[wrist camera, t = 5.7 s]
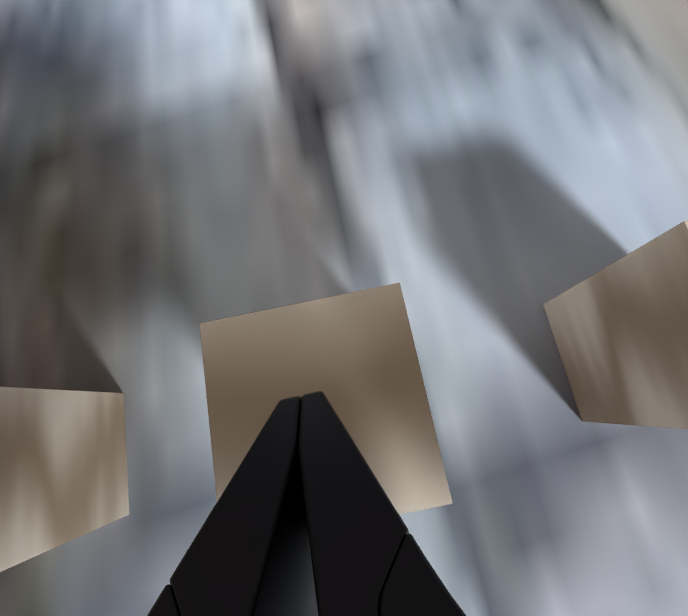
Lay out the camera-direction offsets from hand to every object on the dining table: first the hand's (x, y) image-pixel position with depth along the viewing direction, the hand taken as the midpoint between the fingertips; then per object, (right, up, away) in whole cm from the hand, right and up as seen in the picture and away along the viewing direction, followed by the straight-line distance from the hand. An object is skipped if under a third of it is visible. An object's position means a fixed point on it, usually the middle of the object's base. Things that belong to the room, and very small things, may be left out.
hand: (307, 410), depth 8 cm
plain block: (+1, -2, +9) cm, 9 cm away
